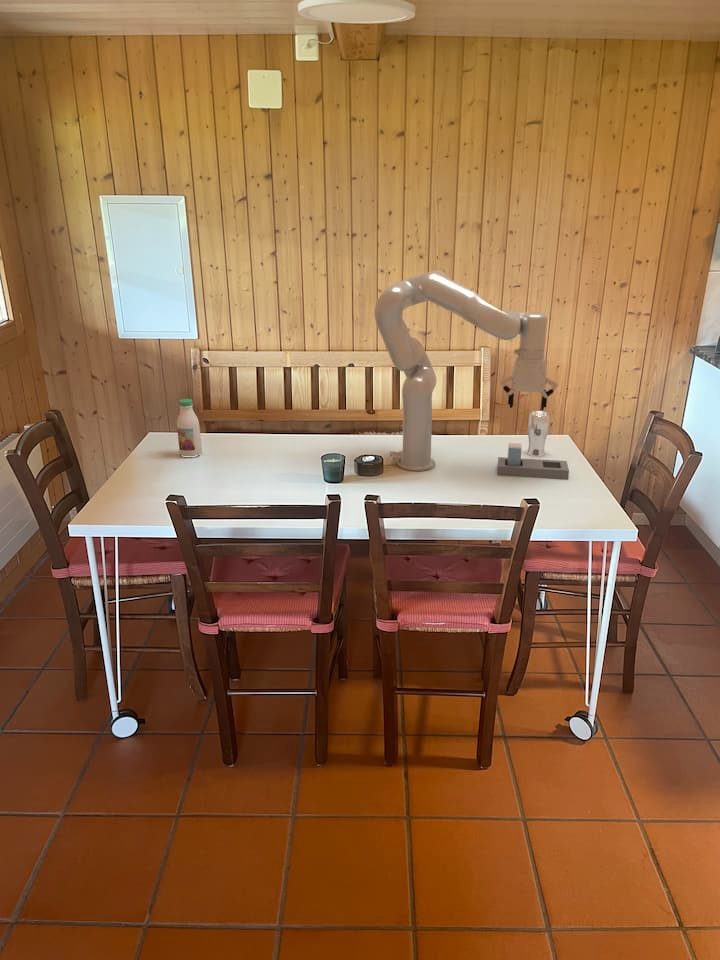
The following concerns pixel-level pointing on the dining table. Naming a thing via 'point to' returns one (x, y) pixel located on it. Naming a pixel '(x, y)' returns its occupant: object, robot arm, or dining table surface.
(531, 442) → the beer glass
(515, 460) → the plug
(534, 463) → the panel
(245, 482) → the dining table surface
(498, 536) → the dining table surface
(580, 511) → the dining table surface
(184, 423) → the milk bottle
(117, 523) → the dining table surface
